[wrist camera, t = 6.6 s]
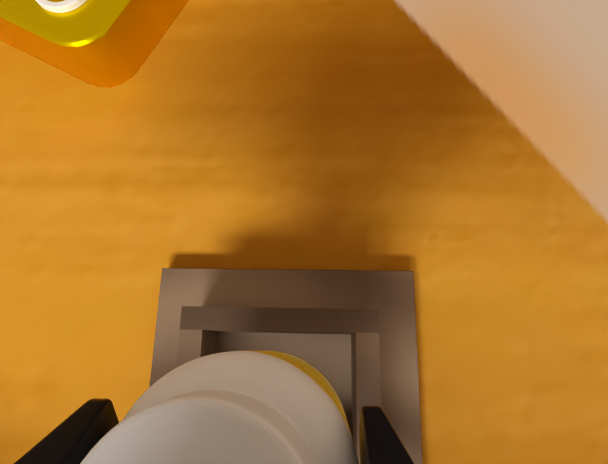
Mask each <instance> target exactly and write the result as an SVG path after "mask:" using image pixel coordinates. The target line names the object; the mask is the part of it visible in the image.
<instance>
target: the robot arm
mask: <svg viewBox="0 0 608 464" xmlns="http://www.w3.org/2000/svg"><path fill="white" fill-rule="evenodd" d="M118 423H119V421H118V418H117V415H116V413H115V410H114V407H113V404H112V402H111V401H110V400H109V399H96V398H95V399H90V400H89V401H87V402H86V403H85V404H83V405H82V406H81V407H80V408H79V409H78V410H76V411H75V412H74V413H73V414H72V415H71V416H69V417H68V418H67V419H66V420H65V421H63V422H62V423H61V424H60V425H59V426H58V427H56V428H55V429H54V430H53V431H52V432H51V433H49V434H48V435H47V436H46V437H45V438H43V439H42V440H41V441H40V442H39V443H38V444H36V445H35V446H34V447H33V448H32V449H31V450H29V451H28V452H27V453H26V454H25V455H24V456H22V457H21V458H20V459H19V460H18V461H16V462H15V463H14V464H80V463H81V462H82V461H83V459H84V458H85V457H86V455H87V454H88V453H89V452H90V450H91V449H92V448H93V447H94V446H95V445H96V444H97V443H98V442H99V440H100V439H101V438H102V437H104V436H105V435H106V434H107V433H108V432H109V431H110V430H111V429H112V428H114V427H115V426H116V425H117V424H118ZM359 446H360V464H414V462H413V460H412V458H411V457H410V455H409V453H408V452H407V450H406V448H405V447H404V445H403V443H402V441H401V440H400V438H399V436H398V435H397V433H396V431H395V430H394V428H393V426H392V424H391V423H390V421H389V419H388V418H387V416H386V414H385V413H384V411H383V409H382V408H381V407H379V406H363V407H362V408H361V415H360V428H359Z"/></svg>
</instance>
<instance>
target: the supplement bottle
mask: <svg viewBox="0 0 608 464" xmlns="http://www.w3.org/2000/svg"><path fill="white" fill-rule="evenodd" d="M80 464H359V461H358V456H357V452H356V448H355V445H354V441H353V438H352V435H351V432H350V429H349V426H348V422H347V419H346V415H345V412H344V409H343V406H342V404H341V401H340V399H339V397H338V395H337V393H336V391H335V389H334V388H333V386H332V385H331V383H330V382H329V380H328V379H327V378H326V377H325V376H324V375H323V374H322V373H321V372H320V371H319V370H318V369H317V368H315V367H314V366H313V365H311V364H310V363H308V362H307V361H305V360H303V359H301V358H299V357H297V356H295V355H292V354H289V353H285V352H279V351H247V350H234V351H225V352H221V353H216V354H211V355H207V356H203V357H200V358H197V359H194V360H192V361H189V362H187V363H185V364H183V365H181V366H179V367H177V368H175V369H174V370H172V371H170V372H169V373H167V374H166V375H164V376H163V377H162V378H160V379H159V380H158V381H156V382H155V383H154V384H153V385H152V386H151V387H150V388H149V389H148V390H146V391H145V392H144V394H143V395H142V396H141V397H140V398H139V399H138V400H137V401H136V402H135V404H134V405H133V406H132V408H131V409H130V410H129V412H128V413H127V415H126V416H125V418H124V419H123V421H121V422H120V423H118V424H117V425H116V426H115V427H114V428H112V429H111V430H110V431H109V432H108V433H107V434H106V435H105V436H104V437H102V438H101V439H100V440H99V442H98V443H97V444H96V445H95V446H94V447H93V448H92V449H91V450H90V452H89V453H88V454H87V455H86V457H85V458H84V459H83V461H82V462H81V463H80Z"/></svg>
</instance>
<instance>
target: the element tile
mask: <svg viewBox="0 0 608 464" xmlns="http://www.w3.org/2000/svg"><path fill="white" fill-rule="evenodd" d="M188 1H189V0H0V40H1V41H3V42H5V43H7V44H9V45H11V46H13V47H15V48H17V49H19V50H21V51H23V52H25V53H27V54H29V55H31V56H33V57H36V58H38V59H40V60H42V61H44V62H46V63H48V64H50V65H52V66H54V67H56V68H58V69H60V70H62V71H64V72H66V73H68V74H70V75H72V76H74V77H76V78H78V79H80V80H82V81H84V82H86V83H88V84H91V85H94V86H97V87H109V88H110V87H114V86H117V85H121V84H123V83H124V82H126V81H127V80H129V79H130V78H131V77H133V76H134V75H135V74H136V73H137V71H138V70H139V69H140V67H141V66H142V65H143V63H144V62H145V60H146V59H147V58H148V56H149V55H150V53H151V52H152V51H153V49H154V48H155V46H156V45H157V44H158V42H159V41H160V39H161V38H162V37H163V35H164V34H165V33H166V31H167V30H168V28H169V27H170V26H171V24H172V23H173V21H174V20H175V19H176V17H177V16H178V14H179V13H180V12H181V10H182V9H183V7H184V6H185V5H186V3H187V2H188Z"/></svg>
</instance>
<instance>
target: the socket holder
mask: <svg viewBox="0 0 608 464" xmlns="http://www.w3.org/2000/svg"><path fill="white" fill-rule="evenodd" d="M234 350H247V351H279V352H285V353H289V354H292V355H295V356H297V357H299V358H301V359H303V360H305V361H307V362H308V363H310V364H311V365H313V366H314V367H315V368H317V369H318V370H319V371H320V372H321V373H322V374H323V375H324V376H325V377H326V378H327V379H328V380H329V382H330V383H331V385H332V386H333V388H334V389H335V391H336V393H337V395H338V397H339V399H340V401H341V404H342V406H343V409H344V412H345V415H346V419H347V422H348V426H349V429H350V432H351V435H352V438H353V441H354V445H355V448H356V452H357V456H358V461H359V464H360V446H359V428H360V415H361V408H362V407H363V406H379V407H381V408H382V409H383V411H384V413H385V414H386V416H387V418H388V419H389V421H390V423H391V424H392V426H393V428H394V430H395V431H396V433H397V435H398V436H399V438H400V440H401V441H402V443H403V445H404V447H405V448H406V450H407V452H408V453H409V455H410V457H411V458H412V460H413V462H414V464H423V462H422V442H421V421H420V401H419V380H418V359H417V339H416V318H415V298H414V277H413V271H352V270H264V269H175V268H162V276H161V285H160V295H159V304H158V313H157V323H156V332H155V342H154V351H153V361H152V370H151V380H150V387H151V386H152V385H153V384H154V383H155V382H156V381H158V380H159V379H160V378H162V377H163V376H164V375H166V374H167V373H169V372H170V371H172V370H174V369H175V368H177V367H179V366H181V365H183V364H185V363H187V362H189V361H192V360H194V359H197V358H200V357H203V356H207V355H211V354H216V353H221V352H225V351H234Z"/></svg>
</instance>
